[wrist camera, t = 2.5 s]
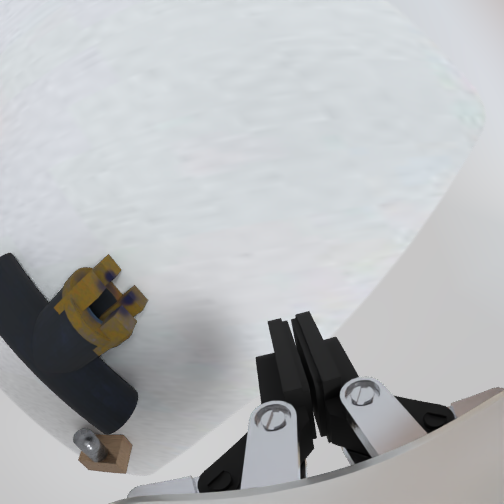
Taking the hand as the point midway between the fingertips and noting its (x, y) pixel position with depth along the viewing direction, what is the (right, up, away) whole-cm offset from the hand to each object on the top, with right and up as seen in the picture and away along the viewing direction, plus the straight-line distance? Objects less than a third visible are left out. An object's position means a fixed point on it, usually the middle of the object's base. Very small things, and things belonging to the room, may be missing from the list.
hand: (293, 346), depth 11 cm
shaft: (-17, -15, +12) cm, 26 cm away
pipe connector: (-15, -1, +8) cm, 17 cm away
